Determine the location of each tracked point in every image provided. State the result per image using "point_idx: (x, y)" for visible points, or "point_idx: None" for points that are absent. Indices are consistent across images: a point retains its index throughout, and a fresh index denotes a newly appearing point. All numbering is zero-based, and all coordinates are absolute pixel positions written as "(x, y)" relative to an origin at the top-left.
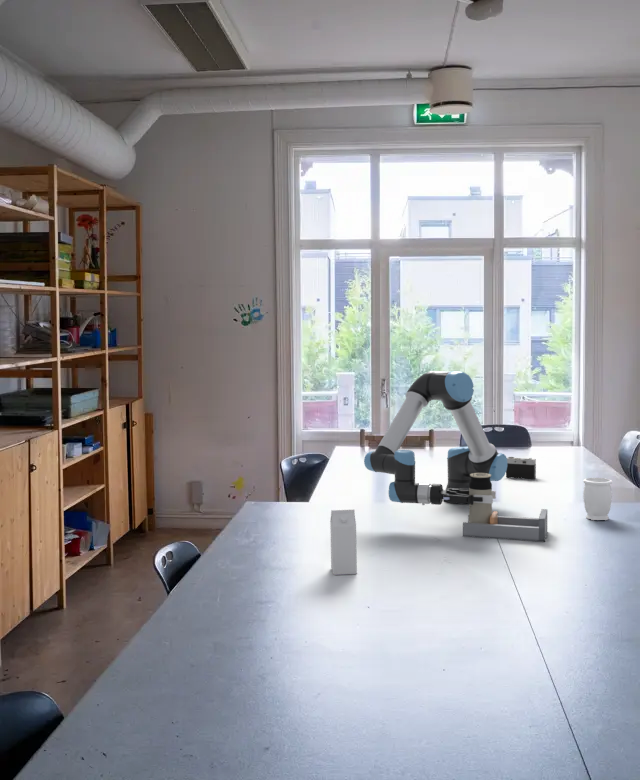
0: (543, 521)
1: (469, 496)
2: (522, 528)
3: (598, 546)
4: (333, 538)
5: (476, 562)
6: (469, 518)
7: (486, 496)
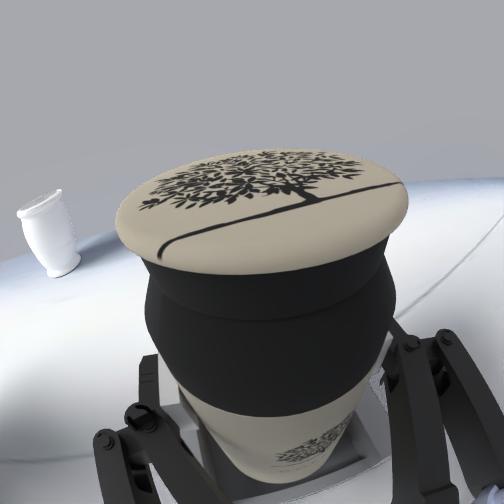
0: None
1: (448, 332)
2: None
3: None
4: None
5: (500, 290)
6: (320, 464)
7: None
